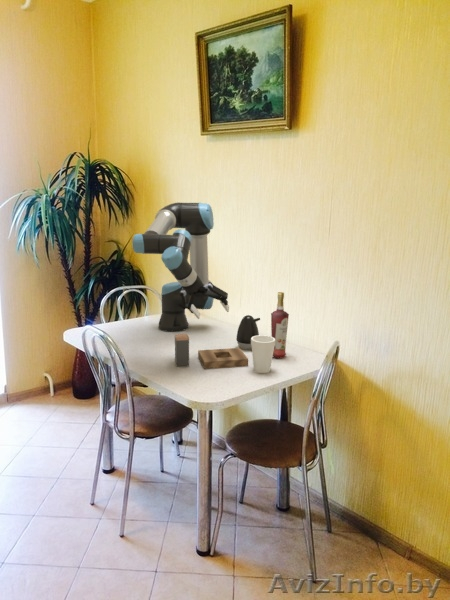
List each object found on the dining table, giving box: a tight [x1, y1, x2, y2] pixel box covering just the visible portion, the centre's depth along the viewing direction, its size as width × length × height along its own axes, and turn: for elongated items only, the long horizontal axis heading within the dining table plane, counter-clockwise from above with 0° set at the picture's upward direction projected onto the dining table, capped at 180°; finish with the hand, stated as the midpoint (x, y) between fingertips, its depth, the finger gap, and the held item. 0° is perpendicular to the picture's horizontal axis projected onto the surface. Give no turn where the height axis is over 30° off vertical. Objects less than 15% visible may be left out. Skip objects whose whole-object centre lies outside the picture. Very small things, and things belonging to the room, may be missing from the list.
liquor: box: [270, 291, 290, 359], centre depth 203 cm, size 7×7×28 cm
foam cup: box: [251, 334, 275, 374], centre depth 189 cm, size 10×9×13 cm
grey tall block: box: [174, 333, 190, 368], centre depth 194 cm, size 5×5×12 cm
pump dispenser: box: [236, 314, 261, 351], centre depth 215 cm, size 10×10×15 cm
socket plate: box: [197, 347, 249, 370], centre depth 199 cm, size 18×14×3 cm
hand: (213, 312), depth 199 cm, fingers open, 13 cm apart
